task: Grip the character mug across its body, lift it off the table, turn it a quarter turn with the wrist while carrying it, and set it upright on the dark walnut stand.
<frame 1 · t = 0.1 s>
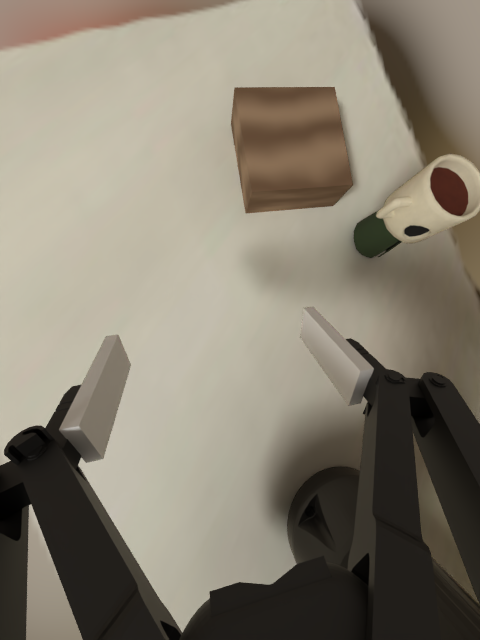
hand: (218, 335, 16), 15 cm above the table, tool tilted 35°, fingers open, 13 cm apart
walnut stand: (282, 165, 35), on the table
character mug: (367, 240, 36), on the table
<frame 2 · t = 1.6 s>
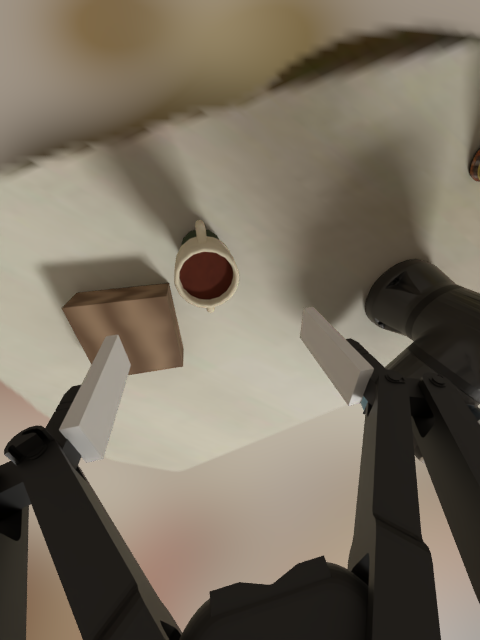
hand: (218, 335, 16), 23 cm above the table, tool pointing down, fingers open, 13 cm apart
walnut stand: (136, 324, 40), on the table
character mug: (201, 248, 35), on the table
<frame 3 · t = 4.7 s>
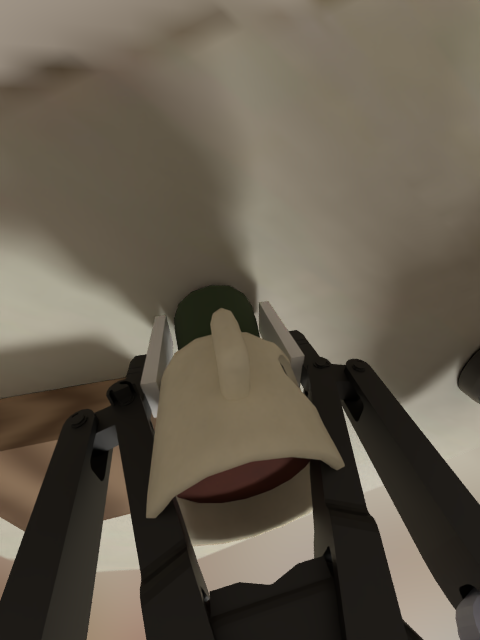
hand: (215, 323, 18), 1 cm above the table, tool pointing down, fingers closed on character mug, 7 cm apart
walnut stand: (101, 432, 23), on the table
character mug: (214, 315, 19), on the table, touching gripper
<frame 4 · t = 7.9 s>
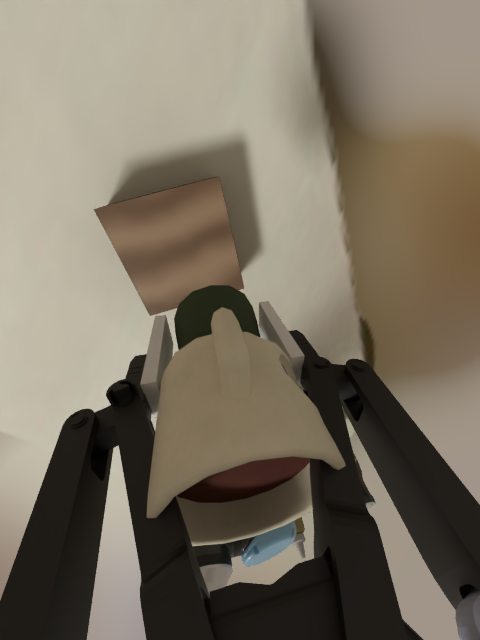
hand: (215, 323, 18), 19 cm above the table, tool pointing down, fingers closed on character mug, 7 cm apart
walnut stand: (181, 245, 33), on the table
sauce bottle: (324, 424, 67), on the table
character mug: (214, 314, 19), point 18 cm above the table, touching gripper
squeeze bottle: (283, 492, 87), on the table
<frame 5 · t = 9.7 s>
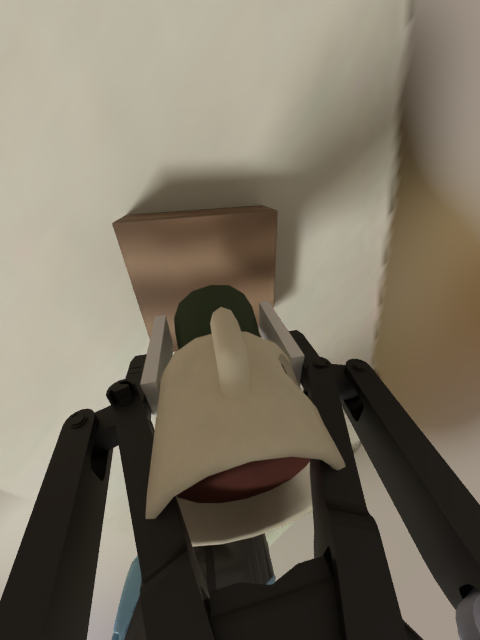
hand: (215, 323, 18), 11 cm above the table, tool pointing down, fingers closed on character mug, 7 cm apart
walnut stand: (205, 274, 27), on the table
character mug: (213, 314, 19), point 10 cm above the table, touching gripper
when the fingers open (7 cm above the table, at t = 11.2 s): character mug drops 1 cm, resting on walnut stand.
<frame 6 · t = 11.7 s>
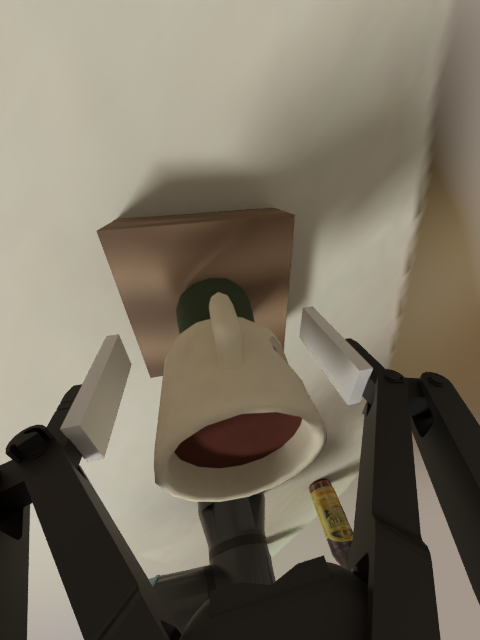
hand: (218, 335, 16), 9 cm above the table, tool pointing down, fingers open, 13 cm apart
walnut stand: (207, 285, 24), on the table
sauce bottle: (317, 483, 60), on the table
character mug: (213, 306, 20), point 5 cm above the table, touching walnut stand
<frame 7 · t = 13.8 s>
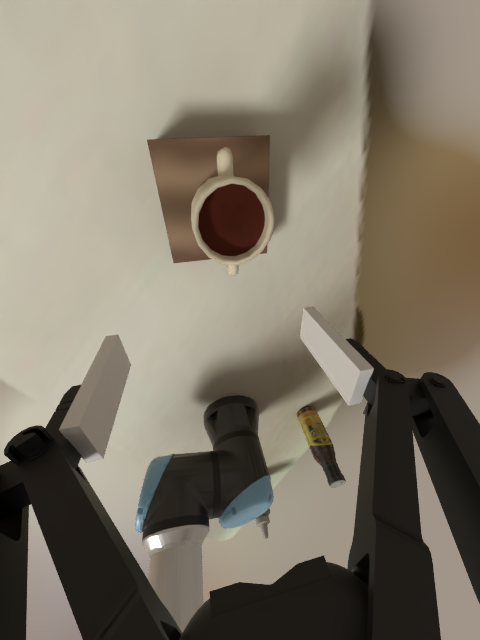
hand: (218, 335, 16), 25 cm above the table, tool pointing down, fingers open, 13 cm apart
walnut stand: (213, 201, 34), on the table
sauce bottle: (304, 411, 70), on the table
character mug: (217, 205, 30), point 5 cm above the table, touching walnut stand
squeeze bottle: (253, 476, 89), on the table
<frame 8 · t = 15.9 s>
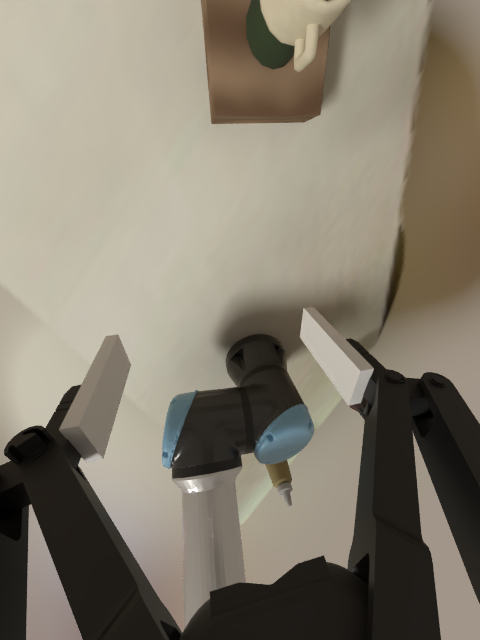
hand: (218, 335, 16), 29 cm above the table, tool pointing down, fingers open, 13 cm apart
walnut stand: (259, 52, 29), on the table
character mug: (271, 32, 25), point 5 cm above the table, touching walnut stand
squeeze bottle: (271, 446, 83), on the table
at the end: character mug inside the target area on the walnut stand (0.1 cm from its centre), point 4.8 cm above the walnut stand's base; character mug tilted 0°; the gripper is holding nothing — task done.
